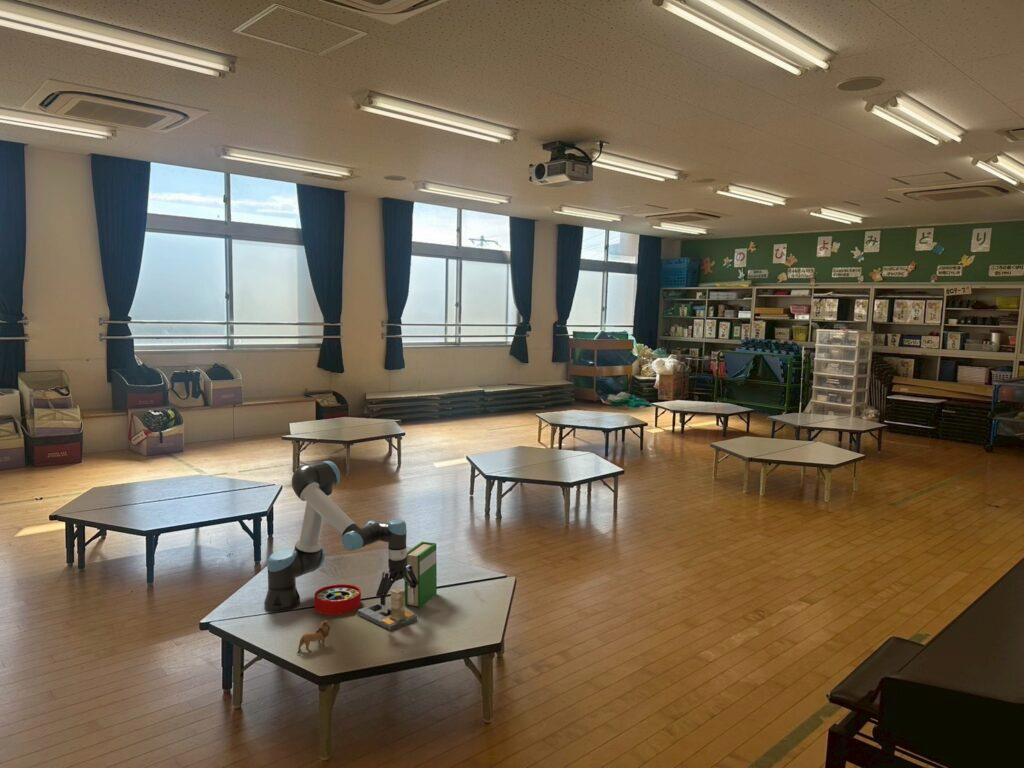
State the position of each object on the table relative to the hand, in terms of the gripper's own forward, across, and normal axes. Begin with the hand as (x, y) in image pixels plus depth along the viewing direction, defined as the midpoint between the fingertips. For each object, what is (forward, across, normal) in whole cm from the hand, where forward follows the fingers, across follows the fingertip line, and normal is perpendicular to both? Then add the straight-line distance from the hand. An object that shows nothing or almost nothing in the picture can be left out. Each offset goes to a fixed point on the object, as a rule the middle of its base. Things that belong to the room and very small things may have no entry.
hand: (397, 607), depth 288 cm
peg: (+7, 0, 0) cm, 7 cm away
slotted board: (+7, 0, +8) cm, 10 cm away
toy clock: (+7, -7, +34) cm, 35 cm away
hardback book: (+7, +22, +12) cm, 26 cm away
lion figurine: (+7, -36, +6) cm, 37 cm away
